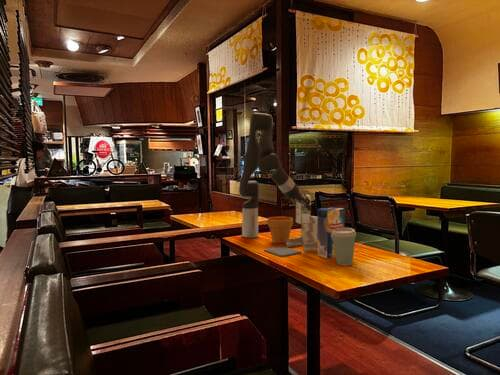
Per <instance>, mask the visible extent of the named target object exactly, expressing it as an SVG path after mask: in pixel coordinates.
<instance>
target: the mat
mask: <svg viewBox="0 0 500 375" xmlns="http://www.w3.org/2000/svg"><path fill="white" fill-rule="evenodd" d="M263 252H265V253H268V254H272V255H275V256H277V257H279V258H285V257H288V256H289V257H291V256H294V255H299V254H301V253H302V251H300V250H296V249H294V248H291V247H286V246H284V245H281V246H275V247H271V248H265V249H263Z"/></svg>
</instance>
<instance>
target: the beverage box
mask: <svg viewBox="0 0 500 375" xmlns="http://www.w3.org/2000/svg"><path fill="white" fill-rule="evenodd" d="M316 210H317V211H316V212H317V216H316V217H317V250H316V251H317V252H316V253H317V255H316V256H319V257H321V258H325V259H331V258H336V256H335V251H334V245H333V239H332V235H331V234H332V231H333V230H334V229H336V228H346V227H345V222H346V219H345V217H346V215H345V214H346V209H345V208H342V207H335V206H334V207H326V208H325V207H324V208H318V209H316Z"/></svg>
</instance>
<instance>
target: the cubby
mask: <svg viewBox="0 0 500 375" xmlns="http://www.w3.org/2000/svg"><path fill="white" fill-rule="evenodd" d="M300 225H301V226H300V228H301V229H300V230H301V232H300V233H301V236H297V237H293V238H292V237H291V238H289V239H286V243H285V247H287V248H291V247H295V246H303V253H309V252H314V251H317V216H314V215H311V217H310V224H300Z"/></svg>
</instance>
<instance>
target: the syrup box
mask: <svg viewBox="0 0 500 375" xmlns="http://www.w3.org/2000/svg"><path fill="white" fill-rule="evenodd" d="M305 195H306V196H307V197H308V199H309V200H310V206H311V205H312V196H311V195H309V194H305ZM301 202H302V200H301ZM311 207H312V206H311ZM311 210H312V209H311ZM311 210H310V211H309V210H308V209H307V208H306V207H305V206H304V205H303V204H300V203H299V202H298V201H297V202H296V205H295V223H297V224H299V225H301V224H310V217H311V216H312V215H311V213H312V212H311Z"/></svg>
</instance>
